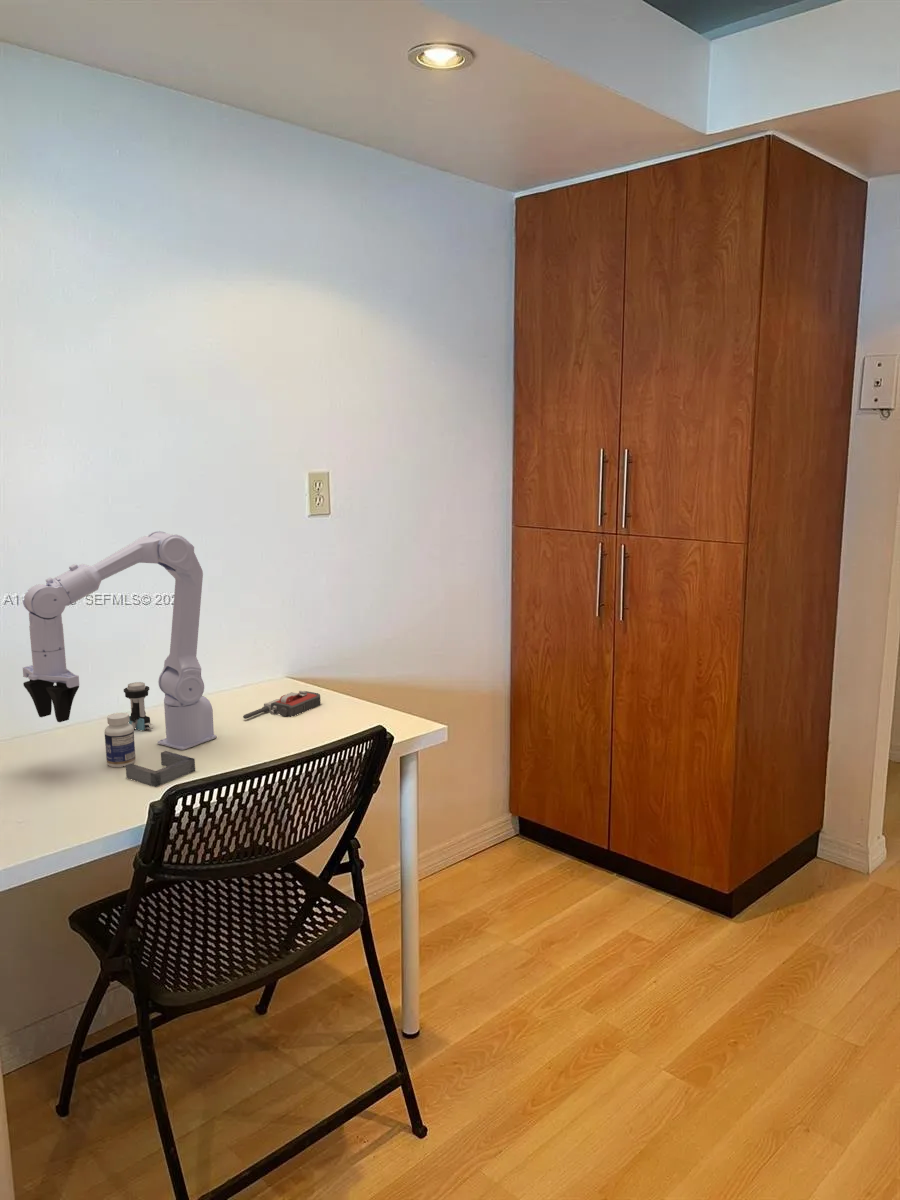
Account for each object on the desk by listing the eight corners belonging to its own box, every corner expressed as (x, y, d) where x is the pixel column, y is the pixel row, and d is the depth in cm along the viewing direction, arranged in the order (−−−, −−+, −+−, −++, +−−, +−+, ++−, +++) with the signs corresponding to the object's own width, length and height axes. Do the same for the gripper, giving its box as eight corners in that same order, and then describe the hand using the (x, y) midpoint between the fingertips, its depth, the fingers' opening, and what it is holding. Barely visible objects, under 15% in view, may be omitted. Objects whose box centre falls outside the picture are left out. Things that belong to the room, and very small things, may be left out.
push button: (161, 728, 198) (158, 684, 196) (141, 734, 193) (138, 689, 192) (141, 723, 201) (138, 679, 200) (121, 729, 197) (117, 685, 195)
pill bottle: (106, 760, 178) (103, 713, 176) (135, 756, 180) (132, 710, 178) (106, 769, 173) (103, 721, 172) (136, 766, 175) (133, 718, 173)
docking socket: (166, 763, 177) (165, 750, 176) (195, 771, 172) (194, 758, 172) (126, 778, 169) (125, 765, 168) (155, 787, 164) (154, 774, 164)
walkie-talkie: (297, 699, 220) (240, 722, 203) (296, 682, 219) (239, 703, 202) (325, 705, 216) (270, 728, 199) (325, 687, 215) (269, 709, 198)
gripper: (5, 648, 169) (11, 717, 172) (52, 658, 161) (58, 730, 164) (39, 640, 175) (45, 708, 177) (86, 650, 167) (92, 720, 170)
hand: (54, 718), depth 171 cm, fingers open, 5 cm apart
